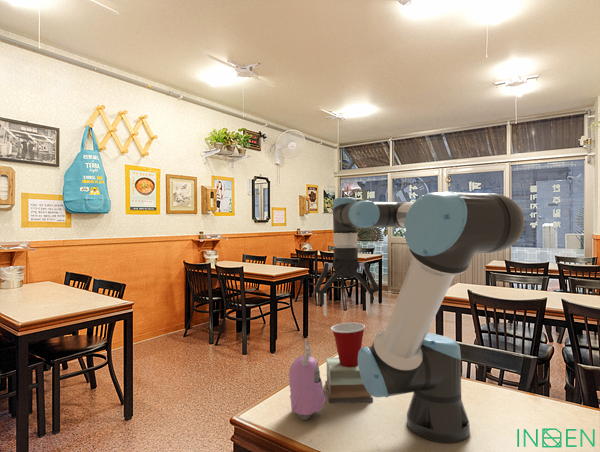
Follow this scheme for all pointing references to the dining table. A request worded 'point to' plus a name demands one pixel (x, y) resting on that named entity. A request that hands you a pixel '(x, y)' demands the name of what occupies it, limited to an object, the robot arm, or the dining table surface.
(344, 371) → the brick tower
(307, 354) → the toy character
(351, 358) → the plastic cup
